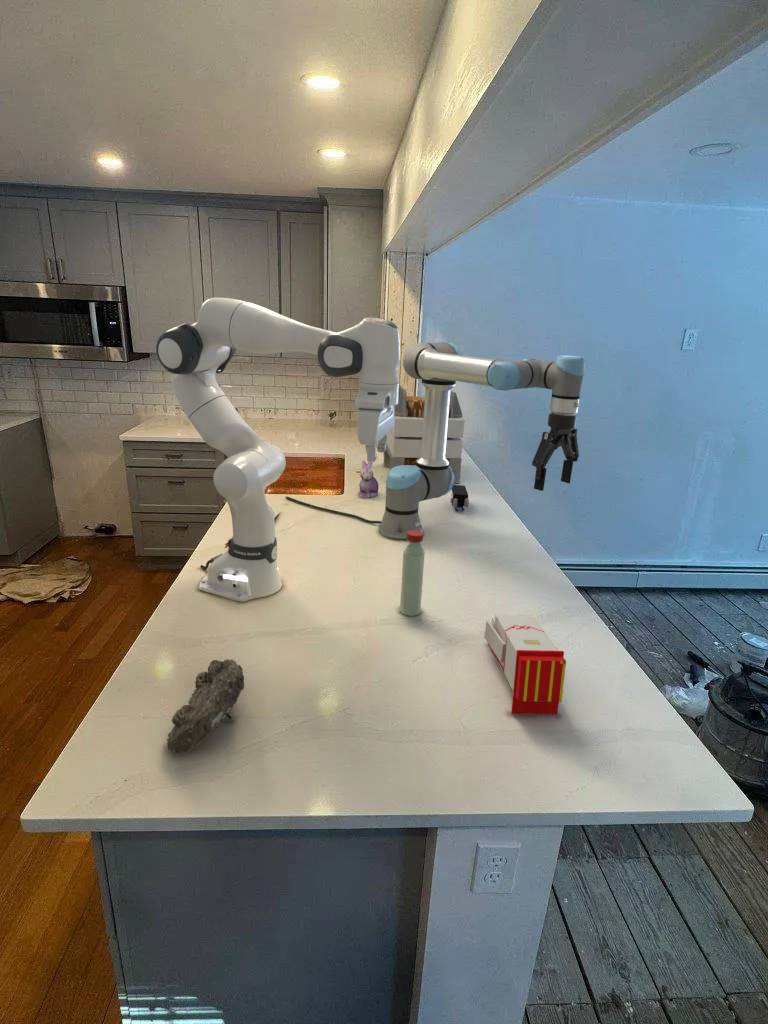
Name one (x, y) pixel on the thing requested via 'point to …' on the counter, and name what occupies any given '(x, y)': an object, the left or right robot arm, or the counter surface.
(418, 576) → the bottle
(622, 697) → the counter surface
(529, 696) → the toy
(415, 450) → the white storage crate
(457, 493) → the figurine character
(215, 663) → the fossil
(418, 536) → the cap
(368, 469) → the figurine
